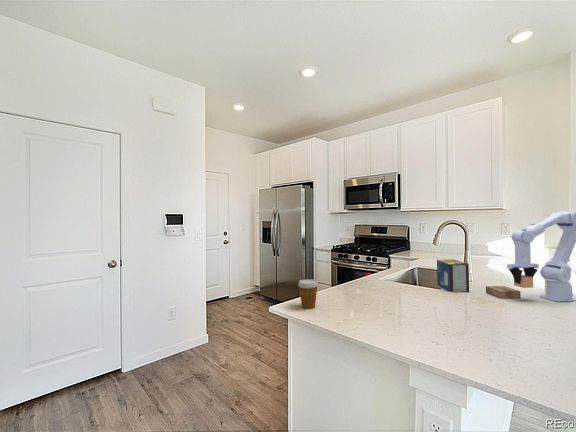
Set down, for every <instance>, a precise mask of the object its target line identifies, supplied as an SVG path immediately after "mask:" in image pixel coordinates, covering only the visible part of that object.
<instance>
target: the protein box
mask: <svg viewBox="0 0 576 432" xmlns="http://www.w3.org/2000/svg"><path fill="white" fill-rule="evenodd" d="M469 265H470V264H469V263H468V262H464V261H460V260H457V259H436V275H437V276H436V277H437V279H436V281H437V286H439V287H440V288H442V289H444V290H445V291H447V292H450V293H454V292H455V293H465V292H466V293H470V269H469V268H470V266H469Z"/></svg>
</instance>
